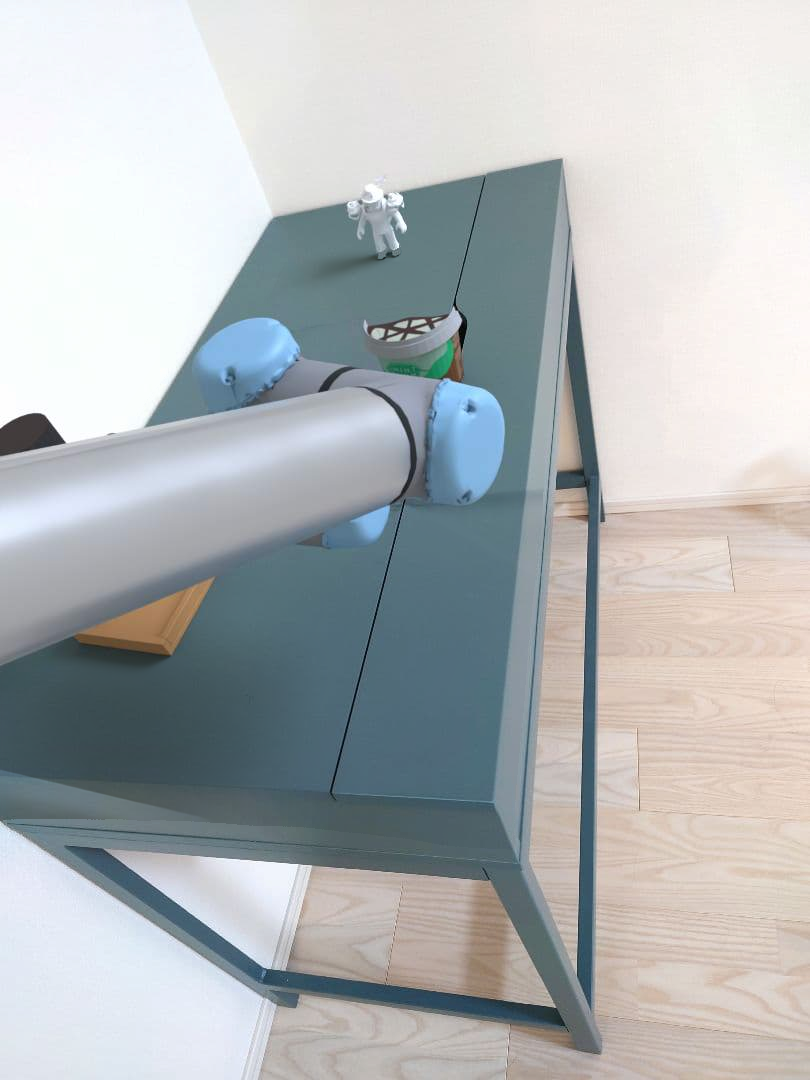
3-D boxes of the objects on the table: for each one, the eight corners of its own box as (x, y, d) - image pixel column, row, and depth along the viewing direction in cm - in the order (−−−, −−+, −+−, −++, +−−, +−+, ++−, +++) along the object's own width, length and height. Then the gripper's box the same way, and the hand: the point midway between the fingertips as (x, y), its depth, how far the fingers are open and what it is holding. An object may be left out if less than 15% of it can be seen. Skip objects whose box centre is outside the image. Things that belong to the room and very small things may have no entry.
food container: (374, 415, 101) (349, 350, 94) (383, 384, 105) (360, 320, 98) (470, 405, 97) (451, 336, 90) (475, 373, 101) (458, 305, 94)
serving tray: (171, 656, 83) (161, 644, 82) (79, 643, 88) (69, 632, 87) (223, 562, 91) (215, 550, 89) (136, 555, 96) (127, 543, 94)
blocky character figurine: (417, 242, 128) (397, 168, 120) (414, 255, 126) (393, 181, 117) (364, 252, 131) (341, 180, 122) (360, 265, 128) (335, 193, 120)
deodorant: (70, 550, 83) (-24, 444, 73) (116, 514, 85) (32, 405, 75) (95, 575, 80) (0, 466, 69) (143, 536, 82) (58, 425, 71)
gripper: (186, 609, 67) (-12, 587, 76) (276, 452, 78) (94, 449, 87) (141, 552, 61) (-66, 535, 71) (244, 391, 72) (53, 395, 82)
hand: (22, 487), depth 79 cm, fingers closed on deodorant, 6 cm apart
